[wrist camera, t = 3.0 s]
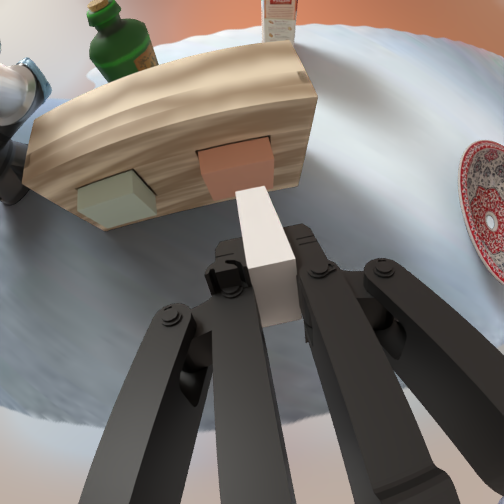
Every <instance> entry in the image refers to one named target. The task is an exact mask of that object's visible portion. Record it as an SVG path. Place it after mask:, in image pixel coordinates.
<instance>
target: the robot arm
mask: <svg viewBox="0 0 504 504" xmlns="http://www.w3.org/2000/svg"><path fill="white" fill-rule="evenodd" d="M0 52H1V43H0ZM51 91H52V89H51V86H50V84H49V82H48V81H47V80H46V78H45V76H44V75H43V73H42V72H41V71H40V69H39V68H38V67H37V66H36V64H35V63H34V62H33V61H32V60H31V59H30V58H24V59H22V60H21V61H20V62H18V63H17V64H16V65H12V66H8V67H7V66H5V65H3V64H1V63H0V201H1V202H3V203H5V204H7V205H12V204H15V203H16V202H18V201H19V200H20V199H21V198H22V197H23V196H24V195H25V194H26V193H27V191H28V190H29V188H28V187H26V186H25V185H23V184H22V178H23V171H24V165H25V160H26V154H27V149H28V144H23V143H19V142H15V141H12V140H11V137H12V136H13V135H14V134H15V133H16V131H17V130H18V129H19V128H20V127H21V126H22V125H23V124H24V122H25V121H26V120H27V119H28V118H29V117H30V116H31V115H32V114H33V113H34V112H35V111H36V110H37V109H38V108H39V107H40V106H41V105H42V104H43V103H44V102H45V100H46V99H47V98H48V97H49V95H50V94H51ZM235 194H236V200H237V206H238V213H239V219H240V225H241V232H242V237H240V238H235V239H230V240H226V241H221V242H220V243H219V244H218V246H217V248H216V249H215V257H216V258H215V262H214V263H213V264H211V265H210V266H209V267H208V268H207V269H206V272H205V278H206V281H207V283H208V286H209V289H210V292H211V295H212V297H211V298H210V299H209V300H208V301H206V302H205V303H203V304H201V305H199V306H197V307H195V308H193V309H189V307H188V306H186V305H185V304H179V303H176V304H170V305H168V306H165V307H163V308H162V309H161V310H159V311H158V312H157V313H156V315H155V316H154V317H153V319H152V322H151V324H150V326H149V328H148V330H147V332H146V334H145V336H144V339H143V341H142V343H141V345H140V347H139V349H138V352H137V354H136V356H135V358H134V361H133V363H132V365H131V367H130V370H129V372H128V374H127V376H126V379H125V381H124V383H123V386H122V388H121V390H120V393H119V395H118V398H117V400H116V402H115V405H114V407H113V410H112V412H111V415H110V417H109V420H108V422H107V425H106V427H105V430H104V433H103V435H102V438H101V440H100V443H99V446H98V448H97V451H96V454H95V456H94V459H93V462H92V465H91V468H90V470H89V473H88V476H87V479H86V482H85V485H84V488H83V491H82V494H81V497H80V500H79V503H78V504H180V502H181V498H182V494H183V490H184V486H185V481H186V477H187V474H188V469H189V465H190V461H191V457H192V453H193V449H194V445H195V440H196V437H197V433H198V429H199V425H200V421H201V417H202V413H203V409H204V405H205V401H206V397H207V393H208V389H209V385H210V381H211V377H212V373H213V387H214V411H215V430H216V447H217V460H218V474H219V488H220V499H221V504H296V499H295V494H294V489H293V484H292V479H291V474H290V469H289V464H288V458H287V453H286V449H285V443H284V437H283V432H282V427H281V422H280V416H279V411H278V406H277V401H276V395H275V390H274V385H273V380H272V374H271V369H270V364H269V359H268V353H267V348H266V343H265V338H264V334H263V329H262V327H267V326H272V325H277V324H281V323H286V322H290V321H295V320H299V319H302V316H303V319H304V327H305V339H306V343H307V342H309V345H310V348H311V351H312V355H313V358H314V361H315V364H316V368H317V371H318V374H319V378H320V381H321V384H322V388H323V391H324V394H325V398H326V401H327V404H328V408H329V411H330V415H331V418H332V421H333V425H334V428H335V432H336V435H337V439H338V442H339V446H340V450H341V453H342V457H343V460H344V464H345V468H346V471H347V475H348V479H349V483H350V486H351V490H352V494H353V498H354V502H355V504H460V501H459V498H458V495H457V492H456V489H455V486H454V484H453V482H452V480H451V478H450V477H449V475H448V474H447V473H446V472H445V471H443V470H441V469H439V468H437V467H436V466H435V464H434V463H433V461H432V459H431V457H430V454H429V451H428V449H427V446H426V444H425V441H424V439H423V436H422V434H421V431H420V429H419V427H418V424H417V422H416V420H415V417H414V415H413V413H412V410H411V408H410V406H409V404H408V401H407V399H406V397H405V395H404V392H403V390H402V388H401V386H400V384H399V382H398V379H397V377H396V375H395V373H394V371H395V372H396V374H397V375H398V376H399V377H400V378H401V380H402V381H403V382H404V383H405V384H406V386H407V387H408V388H409V389H410V390H411V392H412V393H413V394H414V395H415V396H416V398H417V399H418V400H419V401H420V402H421V403H422V405H423V406H424V407H425V409H426V410H427V411H428V412H429V413H430V415H431V416H432V417H433V418H434V420H435V421H436V422H437V423H438V425H439V426H440V427H441V428H442V430H443V431H444V432H445V433H446V435H447V436H448V437H449V438H450V440H451V441H452V442H453V443H454V445H455V446H456V447H457V449H458V450H459V451H460V452H461V454H462V455H463V456H464V458H465V459H466V460H467V461H468V463H469V464H470V465H471V467H472V468H473V469H474V471H475V472H476V473H477V475H478V476H479V477H480V478H481V479H482V480H483V481H484V483H485V484H487V485H488V486H489V487H490V488H491V489H492V490H494V491H495V492H497V493H498V494H500V495H502V496H503V497H502V498H501V499H500V501H499V503H498V504H504V355H503V354H502V353H501V352H500V351H499V350H498V349H497V348H496V347H495V346H494V345H493V344H491V343H490V342H489V341H488V340H487V339H486V338H485V337H484V336H483V335H482V334H481V333H480V332H479V331H478V330H477V329H476V328H474V327H473V326H472V325H471V324H470V323H469V322H468V321H467V320H466V319H464V318H463V317H462V316H461V315H460V314H459V313H458V312H457V311H455V310H454V309H453V308H452V307H451V306H450V305H449V304H447V303H446V302H445V301H444V300H443V299H442V298H440V297H439V296H438V295H437V294H436V293H434V292H433V291H432V290H431V289H430V288H428V287H427V286H426V285H425V284H424V283H422V282H421V281H420V280H419V279H417V278H416V277H415V276H414V275H412V274H411V273H410V272H409V271H407V270H406V269H405V268H404V267H402V266H401V265H400V264H398V263H397V262H395V261H393V260H390V259H386V258H378V259H374V260H371V261H370V262H368V263H367V264H366V265H365V267H364V271H344V270H340V268H339V267H338V266H337V265H336V264H335V263H334V262H332V261H329V260H328V259H327V257H326V255H325V254H324V252H323V250H322V248H321V247H320V245H319V243H318V242H317V240H316V238H315V236H314V234H313V233H312V231H311V229H310V228H309V227H307V226H305V225H304V224H297V225H293V226H288V227H282V225H281V223H280V220H279V218H278V216H277V213H276V211H275V209H274V206H273V204H272V202H271V199H270V197H269V195H268V192H267V190H266V188H265V186H261V187H256V188H251V189H246V190H241V191H237V192H235ZM301 313H302V316H301ZM393 370H394V371H393Z"/></svg>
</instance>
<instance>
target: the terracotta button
mask: <svg viewBox="0 0 504 504" xmlns="http://www.w3.org/2000/svg"><path fill="white" fill-rule="evenodd" d="M198 157H199V164H200V170H201V175H202V177H203V179H204V182H205V184H206V186H207V188H208V190H209V192H210V194H211V196H212V199H213V201H217V200H221V199H226V198H230V197H235V196H236V194H235V192H237V191H241V190H246V189H251V188H256V187H261V186H265V188H266V190H268V189H273V181H274V156H273V152H272V149H271V145H270V142H269V138H268V137H264V138H259V139H253V140H248V141H243V142H238V143H233V144H229V145H224V146H220V147H215V148H211V149H207V150H202V151H198Z"/></svg>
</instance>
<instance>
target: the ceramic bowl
mask: <svg viewBox="0 0 504 504" xmlns="http://www.w3.org/2000/svg"><path fill="white" fill-rule="evenodd" d="M458 192H459V200H460V205H461V210H462V214H463V218H464V222H465V225H466V229H467V231H468V234H469V237H470V239H471V241H472V243H473V245H474V247H475V249H476V251H477V253H478V255H479V257H480V259H481V260H482V262H483V264H484V265H485V266H486V268H487V269H488V271H489V272H490V273H491V274H492V275H493V276H494V277H495V278H496V280H498V281H499V282H500V283H501V284H503V285H504V146H503V145H501V144H499V143H497V142H494V141H490V140H479V141H476V142H474V143H472V144H471V145H469V146H468V147H467V149H466V150H465V151H464V153H463V155H462V158H461V161H460V164H459V169H458ZM487 215H490V216H492V218H493V219H494V223H495V225H494V228H493V229H491V228H489V226H488V225H487V222H486V216H487Z"/></svg>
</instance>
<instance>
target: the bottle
mask: <svg viewBox="0 0 504 504" xmlns="http://www.w3.org/2000/svg"><path fill="white" fill-rule="evenodd" d="M88 8H89V11H88V12H87V18H88V22H89V26H92V27H95V28H96V30H97V31H98V33H97V35H96V36H95V37H94V39H93V40H92V42H91V44H90V50H89V55H90V59H91V60H92V62H93V63H94V64H95V66H96V67H97V68H98V70H99V71H100V72H101V74H102V75H103V76H104V78H105V79H106V80H107V82H108V83H110V82H112V81H115V80H118V79H120V78H123V77H125V76H128V75H131V74H134V73H136V72H139V71H142V70H145V69H148V68H151V67H154V66H158V65H159V64H158V61H157V58H156V55H155V52H154V49H153V46H152V43H151V40H150V37H149V34H148V31H147V28H146V26H145V24H144V23H143V22H141V21H138V20H135V19H121V18H120V16H119V12H120V11H121V7H120V6H119V5H118V4H117V3H116V1H115V0H93V1H92V2H90V3H89V4H88Z"/></svg>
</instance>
